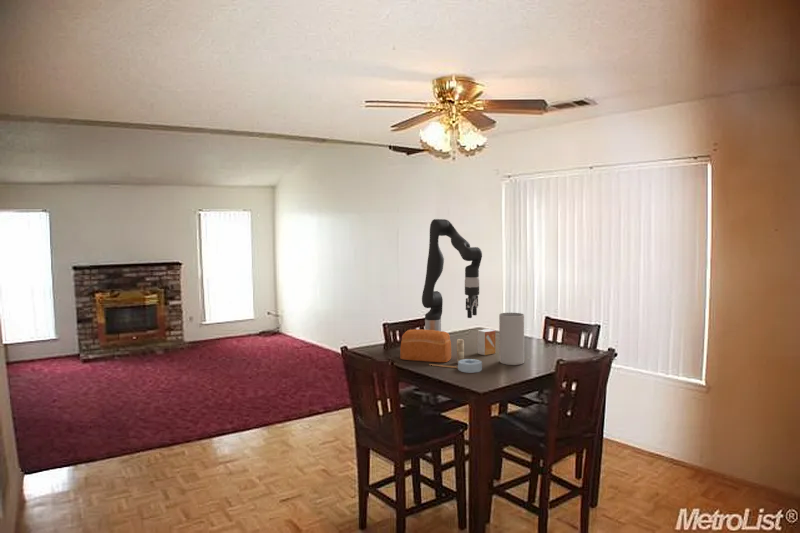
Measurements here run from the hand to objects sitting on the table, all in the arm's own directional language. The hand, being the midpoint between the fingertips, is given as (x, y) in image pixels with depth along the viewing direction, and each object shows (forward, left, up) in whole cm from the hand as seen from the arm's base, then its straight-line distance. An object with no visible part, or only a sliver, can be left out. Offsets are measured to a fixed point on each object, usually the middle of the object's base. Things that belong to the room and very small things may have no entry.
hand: (472, 316), depth 285 cm
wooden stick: (-9, -17, -24) cm, 30 cm away
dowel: (-4, -6, -24) cm, 25 cm away
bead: (+5, -17, -24) cm, 29 cm away
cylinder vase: (+20, +5, -24) cm, 31 cm away
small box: (+2, +19, -24) cm, 30 cm away
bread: (-24, -5, -24) cm, 35 cm away
